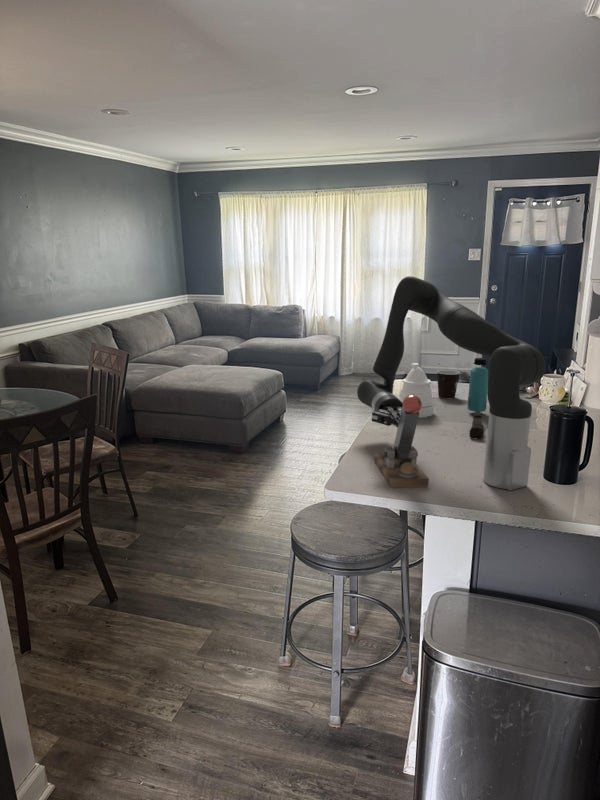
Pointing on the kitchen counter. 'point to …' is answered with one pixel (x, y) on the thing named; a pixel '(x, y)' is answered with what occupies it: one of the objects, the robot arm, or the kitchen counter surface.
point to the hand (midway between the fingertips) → (404, 425)
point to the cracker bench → (398, 480)
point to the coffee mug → (447, 383)
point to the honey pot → (418, 389)
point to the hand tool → (477, 426)
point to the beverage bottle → (478, 387)
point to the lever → (407, 428)
